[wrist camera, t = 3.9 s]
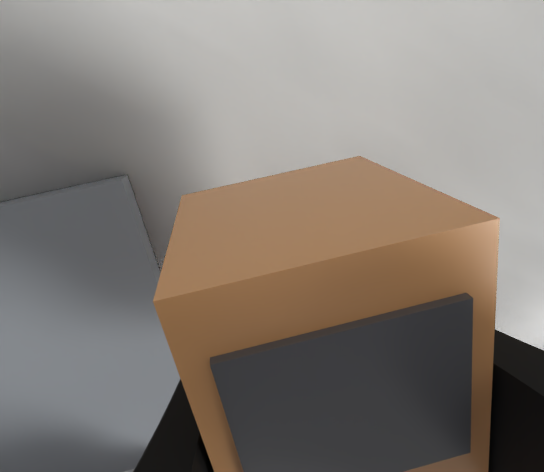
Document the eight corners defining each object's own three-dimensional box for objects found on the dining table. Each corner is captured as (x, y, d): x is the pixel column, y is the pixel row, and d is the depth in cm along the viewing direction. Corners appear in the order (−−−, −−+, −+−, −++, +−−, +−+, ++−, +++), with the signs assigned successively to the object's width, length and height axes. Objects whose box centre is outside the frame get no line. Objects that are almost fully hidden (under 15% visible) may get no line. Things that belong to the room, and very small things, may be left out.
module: (383, 395, 13) (488, 581, 8) (250, 431, 12) (275, 648, 7) (359, 155, 10) (507, 221, 5) (182, 195, 9) (151, 307, 4)
